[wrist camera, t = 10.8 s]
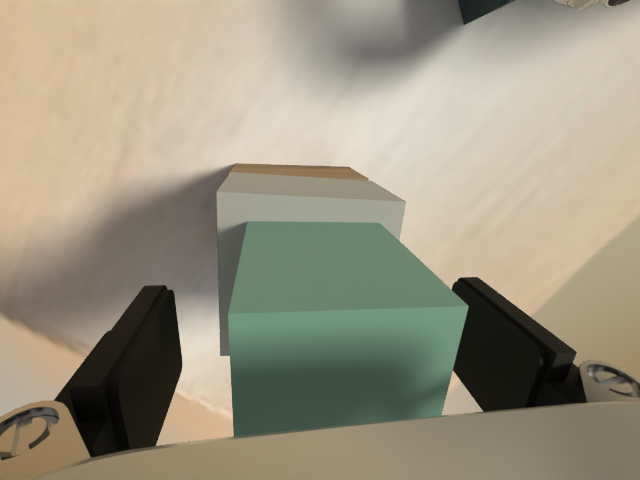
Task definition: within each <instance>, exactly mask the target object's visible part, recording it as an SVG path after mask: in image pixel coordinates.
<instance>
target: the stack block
mask: <svg viewBox="0 0 640 480" xmlns="http://www.w3.org/2000/svg"><path fill="white" fill-rule="evenodd" d="M468 307H469V306H468V305H467V304H466V303H465V302H464V301H463V300H462V299H461V298H460V297H458V296H457V295H456V294H455V293H454V292H453V291H452V290H451V289H450V288H449V287H448V286H447V285H446V284H445V283H444V282H442V281H441V280H440V279H439V278H438V277H437V276H436V275H435V274H434V273H433V272H432V271H431V270H430V269H429V268H427V267H426V266H425V265H424V264H423V263H422V262H421V261H420V260H419V259H418V258H417V257H416V256H415V255H414V254H413V253H411V252H410V251H409V250H408V249H407V248H406V247H405V246H404V245H403V244H402V243H401V242H400V241H399V240H398V239H396V238H395V237H394V236H393V235H392V234H391V233H390V232H389V231H388V230H387V229H386V228H385V227H384V226H383V225H381V224H380V223H368V222H285V221H248V222H247V227H246V232H245V236H244V241H243V246H242V250H241V255H240V260H239V265H238V269H237V274H236V279H235V284H234V288H233V293H232V298H231V303H230V307H229V312H228V323H229V343H230V364H231V385H232V406H233V427H234V437H235V436H245V435H254V434H264V433H273V432H283V431H293V430H302V429H312V428H321V427H331V426H341V425H351V424H361V423H371V422H381V421H391V420H401V419H412V418H422V417H432V416H441V414H442V410H443V407H444V403H445V399H446V395H447V391H448V387H449V383H450V379H451V375H452V371H453V367H454V363H455V359H456V355H457V351H458V347H459V343H460V339H461V335H462V331H463V327H464V323H465V319H466V315H467V311H468Z"/></svg>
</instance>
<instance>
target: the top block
mask: <svg viewBox="0 0 640 480" xmlns="http://www.w3.org/2000/svg"><path fill="white" fill-rule="evenodd" d="M216 194H217V236H218V278H219V319H220V356H230V343H229V323H228V312H229V307H230V303H231V298H232V293H233V288H234V284H235V279H236V274H237V269H238V265H239V260H240V255H241V250H242V246H243V241H244V236H245V232H246V227H247V222H248V221H285V222H368V223H380V224H381V225H383V226H384V227H385V228H386V229H387V230H388V231H389V232H390V233H391V234H392V235H393V236H394V237H395V238H396V239H398V240H399V238H400V232H401V227H402V221H403V216H404V210H405V205H406V202H405V201H404V200H402V199H400V198H399V197H397V196H396V195H394V194H392V193H391V192H389V191H387V190H386V189H384V188H382V187H381V186H379V185H377V184H376V183H374V182H372V181H364V180H348V179H333V178H317V177H301V176H286V175H270V174H254V173H238V172H230V174H229V175H228V177H227V178H226V179H225V181H224V182H223V183H222V185H221V186H220V188H219V189H218V190H217V192H216Z"/></svg>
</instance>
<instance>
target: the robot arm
mask: <svg viewBox="0 0 640 480" xmlns="http://www.w3.org/2000/svg"><path fill="white" fill-rule="evenodd" d="M452 291H453V292H454V293H455V294H456V295H457V296H458V297H460V298H461V299H462V300H463V301H464V302H465V303H466V304H467V305H468V306H469V307H468V311H467V315H466V319H465V323H464V327H463V331H462V335H461V339H460V343H459V347H458V351H457V355H456V359H455V363H454V367H453V371H454V372H455V373H456V375H457V376H458V378H459V379H460V380H461V382H462V383H463V384H464V385H465V387H466V388H467V390H468V391H469V392H470V394H471V395H472V397H473V398H474V399H475V401H476V402H477V403H478V405H479V406H480V407H481V409H482V410H483V412H475V413H464V414H454V415H443V416H432V417H422V418H412V419H401V420H391V421H381V422H371V423H361V424H351V425H341V426H331V427H321V428H312V429H302V430H293V431H283V432H273V433H264V434H254V435H245V436H235V437H226V438H217V439H207V440H198V441H188V442H182V443H174V444H167V445H160V446H156V443H157V440H158V437H159V434H160V432H161V429H162V426H163V423H164V420H165V417H166V414H167V412H168V409H169V406H170V403H171V400H172V397H173V394H174V391H175V388H176V386H177V383H178V380H179V377H180V374H181V370H182V355H181V347H180V339H179V330H178V322H177V314H176V306H175V298H174V292H173V290H168V289H167V287H166V286H165V285H157V286H144V287H143V288H142V290H141V291H140V292H139V294H138V295H137V296H136V298H135V299H134V300H133V302H132V303H131V304H130V306H129V307H128V308H127V310H126V311H125V312H124V314H123V315H122V316H121V318H120V319H119V320H118V322H117V323H116V324H115V326H114V327H113V328H112V330H111V331H108V332H106V333H105V334H104V336H103V337H102V338H101V339H100V341H99V342H98V343H97V345H96V346H95V347H94V349H93V350H92V351H91V353H90V354H89V355H88V356H87V358H86V359H85V360H84V362H83V363H82V364H81V366H80V367H79V368H78V369H77V371H76V372H75V373H74V375H73V376H72V378H71V379H70V380H69V381H68V383H67V384H66V385H65V386H64V388H63V389H62V390H61V392H60V393H59V394H58V396H57V397H56V398H55V400H54V401H40V402H35V403H31V404H28V405H25V406H22V407H20V408H17V409H15V410H13V411H11V412H9V413H7V414H5V415H3V416H1V417H0V480H640V379H639V378H637V377H636V376H634V375H633V374H631V373H630V372H627V371H626V370H623V369H621V368H620V367H617V366H614V365H612V364H609V363H605V362H601V361H595V360H587V361H583V362H582V363H580V365H579V367H577V366H576V365H574V364H573V360H574V358H575V355H576V351H574V350H573V349H572V348H570V347H569V346H568V345H567V344H565V343H564V342H562V341H561V340H560V339H558V338H557V337H556V336H555V335H553V334H552V333H551V332H549V331H548V330H547V329H545V328H544V327H543V326H541V325H540V324H539V323H537V322H536V321H535V320H533V319H532V318H531V317H530V316H528V315H527V314H526V313H524V312H523V311H522V310H520V309H519V308H518V307H516V306H515V305H514V304H512V303H511V302H510V301H508V300H507V299H506V298H504V297H503V296H502V295H500V294H499V293H498V292H496V291H495V290H494V289H492V288H491V287H490V286H489V285H487V284H486V283H485V282H483V281H482V280H481V279H479V278H477V277H467V278H459V279H458V281H457V282H455V283H454V284H453V287H452Z"/></svg>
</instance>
